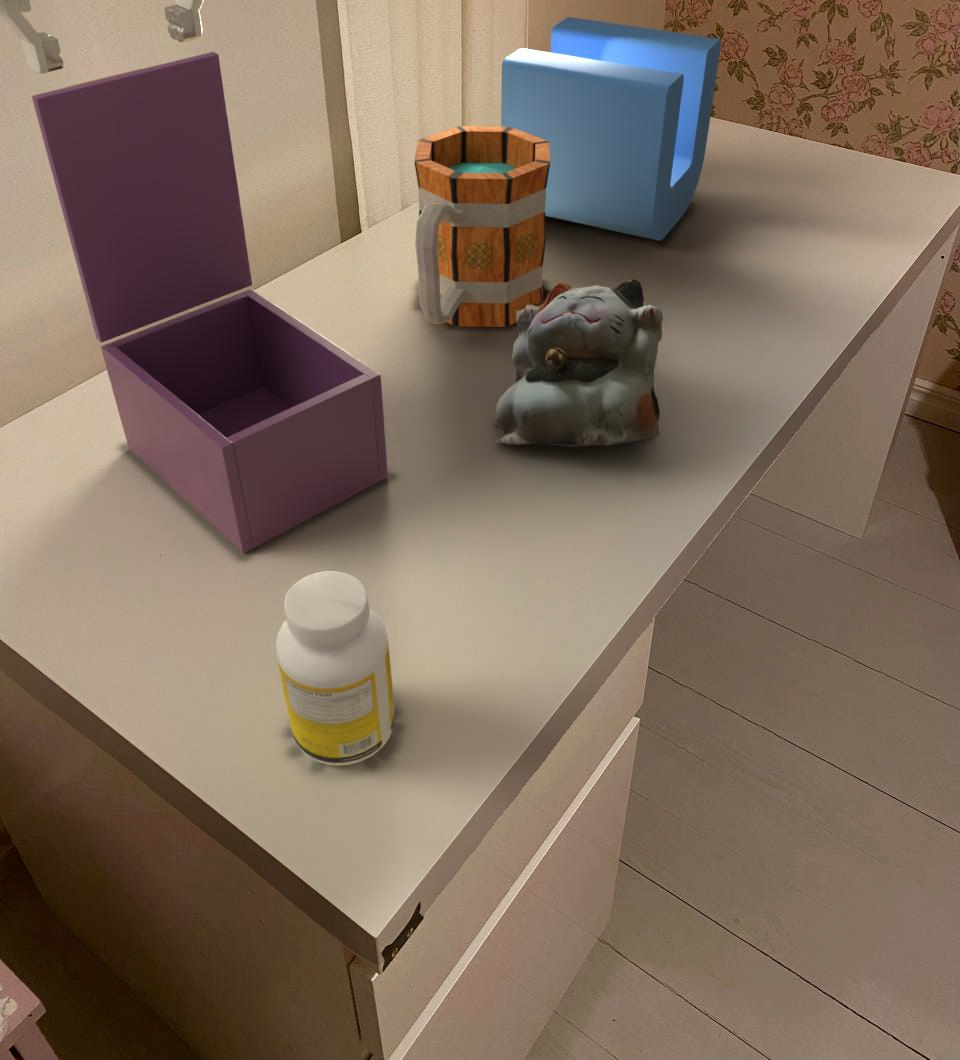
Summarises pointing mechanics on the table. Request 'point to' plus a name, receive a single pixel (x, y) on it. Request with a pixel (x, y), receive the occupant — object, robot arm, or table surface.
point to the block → (616, 120)
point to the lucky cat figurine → (584, 369)
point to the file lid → (148, 190)
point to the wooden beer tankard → (480, 224)
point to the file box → (249, 415)
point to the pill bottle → (335, 669)
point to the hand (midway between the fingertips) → (119, 53)
